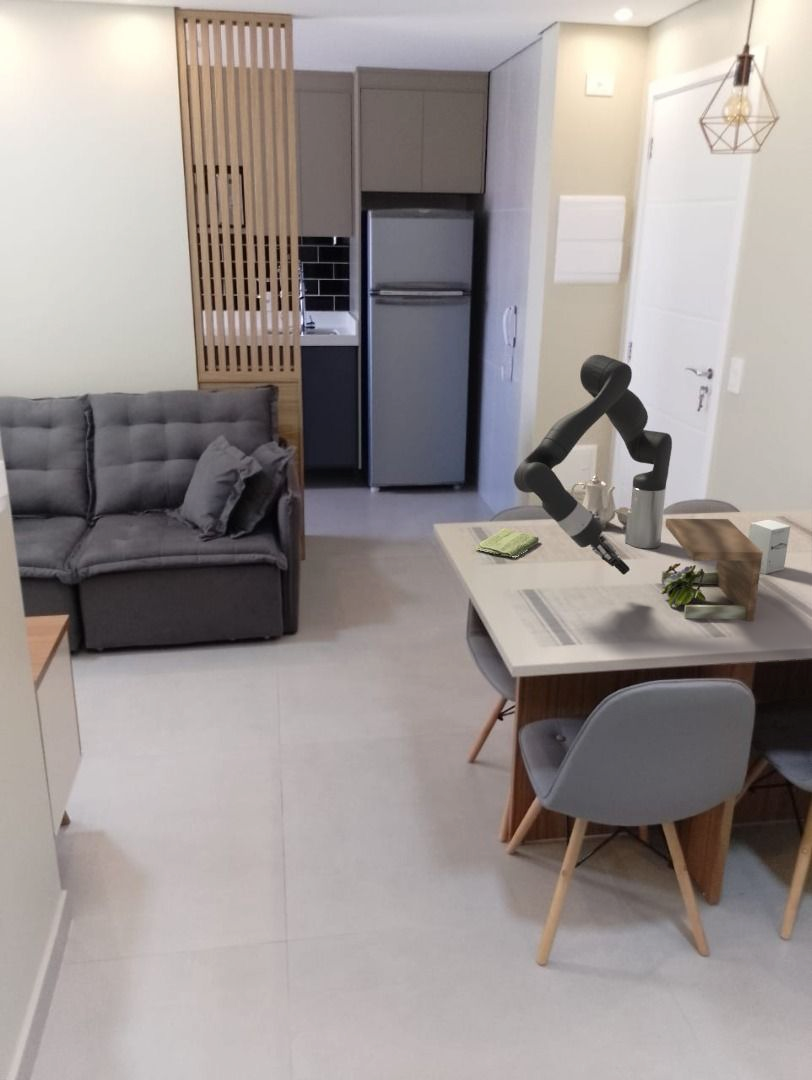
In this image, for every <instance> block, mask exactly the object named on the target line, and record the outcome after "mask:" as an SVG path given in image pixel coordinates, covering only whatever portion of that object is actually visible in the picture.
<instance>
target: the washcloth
mask: <svg viewBox="0 0 812 1080" xmlns="http://www.w3.org/2000/svg"><path fill="white" fill-rule="evenodd" d="M539 540H540V538H539V537H538V536H537V535H534V534H528V533H524V532H522V533H521V532H518V531H515V530H512V529H509V528H502V529H501V530H500V531H499V532H496V533H495V534H493V535H491V536H490V537H488V538H486V539H485V540H482V541H480V543H479V544H477V546H476V547H475V549H476V548H478V549H482V550H485V551H489V552H492V553H498V554H501V555H500V556H504V557H508V556H509V557H508V558H512V556H518V555H520V554H521V553H523V552H525V551H526V550H528V549H529V548H530V549H532V548H534V547H535V546H536V545H537V544H538V543H539ZM536 543H537V544H536ZM535 544H536V545H535ZM534 545H535V546H534ZM531 547H532V548H531ZM530 549H529V550H530ZM529 550H528V551H529ZM525 553H526V552H525ZM520 556H521V555H520Z"/></svg>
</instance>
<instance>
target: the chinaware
mask: <svg viewBox="0 0 812 1080" xmlns="http://www.w3.org/2000/svg"><path fill="white" fill-rule="evenodd" d="M579 485H582V487H581V489H582V490H585V493H584V495H583V494H582V495H580V496H576V495H575V488H576V487H577V486H579ZM606 485H607V484H606V482H605V481H602V480H601V479H600V478H599V476H598V475H597V474H594V475H593V477H592V478H590V480H587V481H584V482H577V483H575V484H573V485H572V487H571V492H570V494H571V496H572V497H573V498H574V499H575V500H576V501H578V502H579V503H580V504H581V505H583V506H584V507H585V508H586V509H587V510H588V511H589V512H590V513H591V514H592V515H593V516H594V517H595V518H596V519H597V520H598V521H599V522H600V523H601V524H602V525H603V529H604V528H606V527H607V524H609V522H611V521H613V519H615V516H616V517H617V520H618V521H619V523H620V524H621V525H623V526H622V528H624V529H626V524H627V513H628V511H630V510H631V507H630V508H629V507H625V506H622V507H619V508H618V509H616V508H617V507H616V504H615V499H614V496H613V495H614V494H613V491H614V490H615V489H616V487H615V486H612V487H610V488H609V489H608V490H607V506H606V503H605V498H604V495H605V493H604V491H605V487H606Z"/></svg>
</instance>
